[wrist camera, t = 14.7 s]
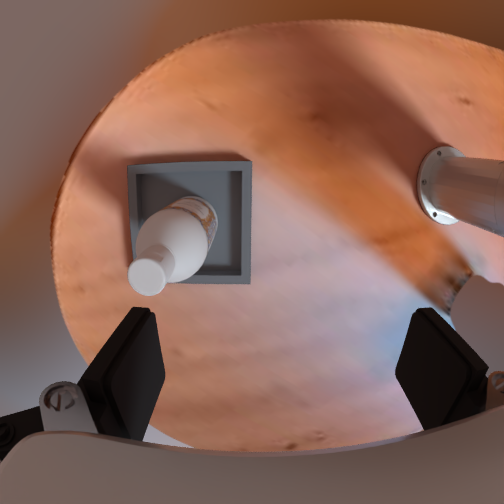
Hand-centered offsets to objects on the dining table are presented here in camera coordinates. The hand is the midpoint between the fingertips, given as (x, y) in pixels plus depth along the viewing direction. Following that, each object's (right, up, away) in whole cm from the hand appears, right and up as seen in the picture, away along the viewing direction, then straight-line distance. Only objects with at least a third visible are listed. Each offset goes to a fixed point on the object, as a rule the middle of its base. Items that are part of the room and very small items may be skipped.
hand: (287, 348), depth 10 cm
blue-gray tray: (-9, +7, +30) cm, 32 cm away
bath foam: (-9, +7, +29) cm, 31 cm away
